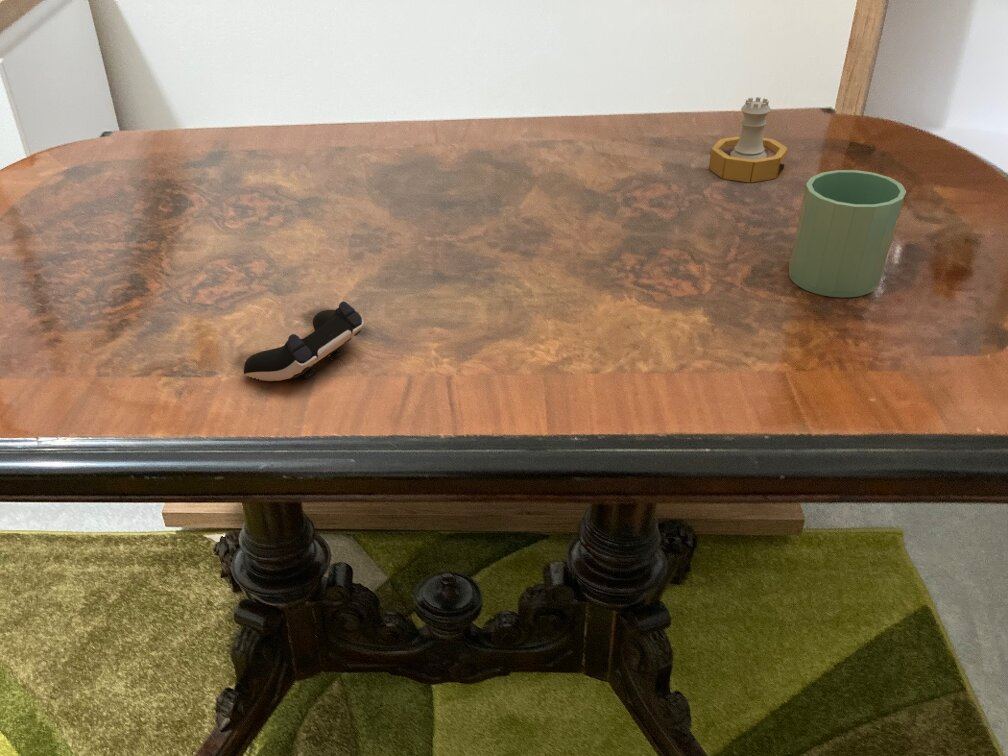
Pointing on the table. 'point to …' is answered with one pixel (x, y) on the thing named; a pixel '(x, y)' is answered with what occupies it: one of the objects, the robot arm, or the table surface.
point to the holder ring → (747, 162)
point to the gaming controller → (307, 346)
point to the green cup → (845, 232)
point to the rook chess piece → (752, 130)
